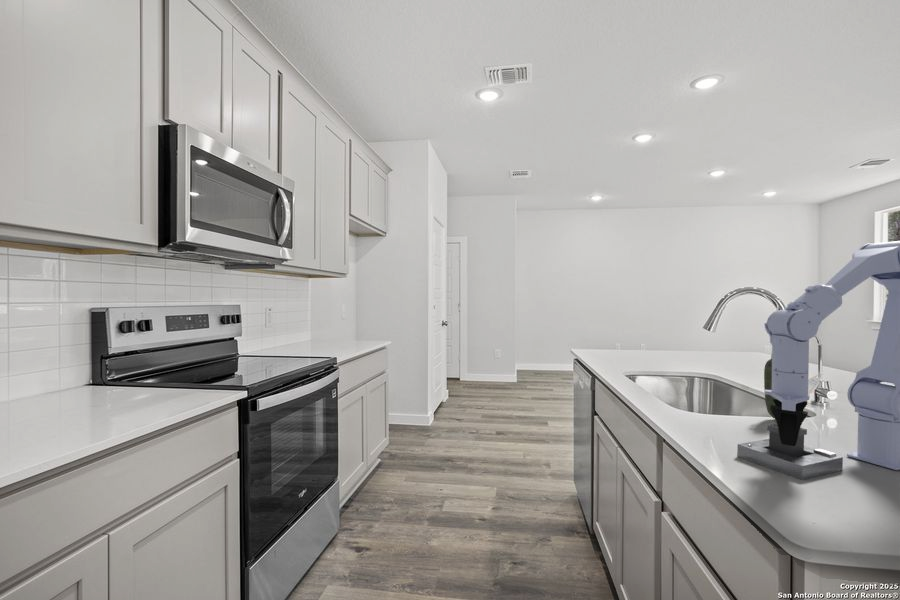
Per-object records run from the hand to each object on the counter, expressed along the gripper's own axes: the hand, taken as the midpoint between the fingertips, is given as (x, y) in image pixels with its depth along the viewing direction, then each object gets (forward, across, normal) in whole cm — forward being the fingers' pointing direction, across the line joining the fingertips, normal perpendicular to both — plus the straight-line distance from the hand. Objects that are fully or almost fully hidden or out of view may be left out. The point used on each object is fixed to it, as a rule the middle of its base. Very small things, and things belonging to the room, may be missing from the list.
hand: (788, 439), depth 87 cm
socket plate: (+5, 0, 0) cm, 5 cm away
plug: (+5, 0, 0) cm, 5 cm away
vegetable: (+5, -36, -4) cm, 36 cm away
